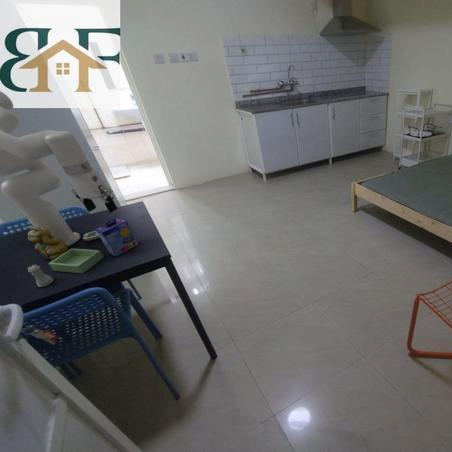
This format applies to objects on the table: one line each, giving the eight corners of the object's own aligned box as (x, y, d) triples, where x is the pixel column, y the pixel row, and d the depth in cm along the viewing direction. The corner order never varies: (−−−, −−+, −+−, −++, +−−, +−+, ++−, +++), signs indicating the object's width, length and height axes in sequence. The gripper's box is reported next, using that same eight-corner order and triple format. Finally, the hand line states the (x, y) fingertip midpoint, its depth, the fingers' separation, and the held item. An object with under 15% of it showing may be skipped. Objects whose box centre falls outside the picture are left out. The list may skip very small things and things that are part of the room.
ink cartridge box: (116, 257, 113) (98, 227, 105) (109, 253, 116) (90, 224, 108) (140, 243, 120) (124, 215, 113) (132, 240, 123) (116, 212, 115)
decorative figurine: (39, 259, 115) (15, 229, 106) (61, 247, 121) (39, 218, 113) (56, 262, 112) (31, 232, 104) (76, 250, 119) (55, 220, 110)
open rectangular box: (53, 270, 108) (48, 263, 106) (76, 255, 116) (71, 248, 114) (82, 273, 106) (77, 266, 104) (104, 257, 114) (99, 250, 112)
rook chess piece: (35, 286, 101) (20, 269, 97) (49, 277, 105) (36, 261, 100) (42, 288, 100) (28, 272, 95) (56, 280, 103) (43, 264, 99)
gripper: (107, 164, 100) (129, 206, 109) (68, 164, 103) (93, 204, 112) (88, 172, 94) (114, 216, 103) (47, 172, 97) (75, 214, 106)
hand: (103, 210), depth 108 cm, fingers open, 9 cm apart
